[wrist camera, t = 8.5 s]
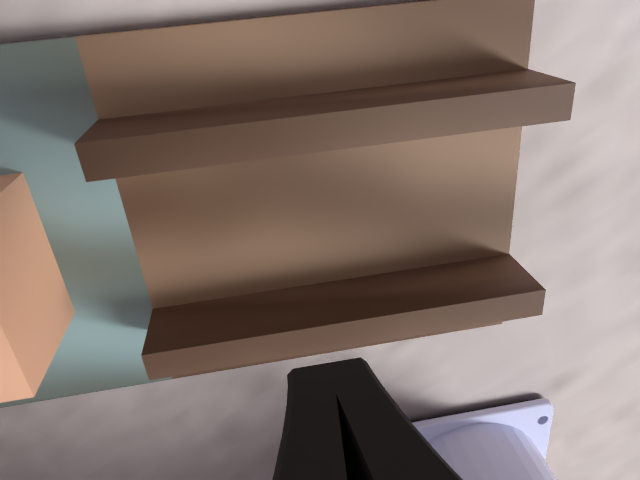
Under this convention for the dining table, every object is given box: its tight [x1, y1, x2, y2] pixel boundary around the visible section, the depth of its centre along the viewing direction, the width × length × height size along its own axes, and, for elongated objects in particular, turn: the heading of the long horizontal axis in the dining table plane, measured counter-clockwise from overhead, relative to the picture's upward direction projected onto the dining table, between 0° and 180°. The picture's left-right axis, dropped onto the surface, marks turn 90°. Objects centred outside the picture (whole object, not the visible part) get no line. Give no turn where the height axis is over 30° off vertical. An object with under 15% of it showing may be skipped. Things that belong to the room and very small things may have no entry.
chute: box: [0, 0, 576, 408], centre depth 16 cm, size 12×23×3 cm, turn 95°
